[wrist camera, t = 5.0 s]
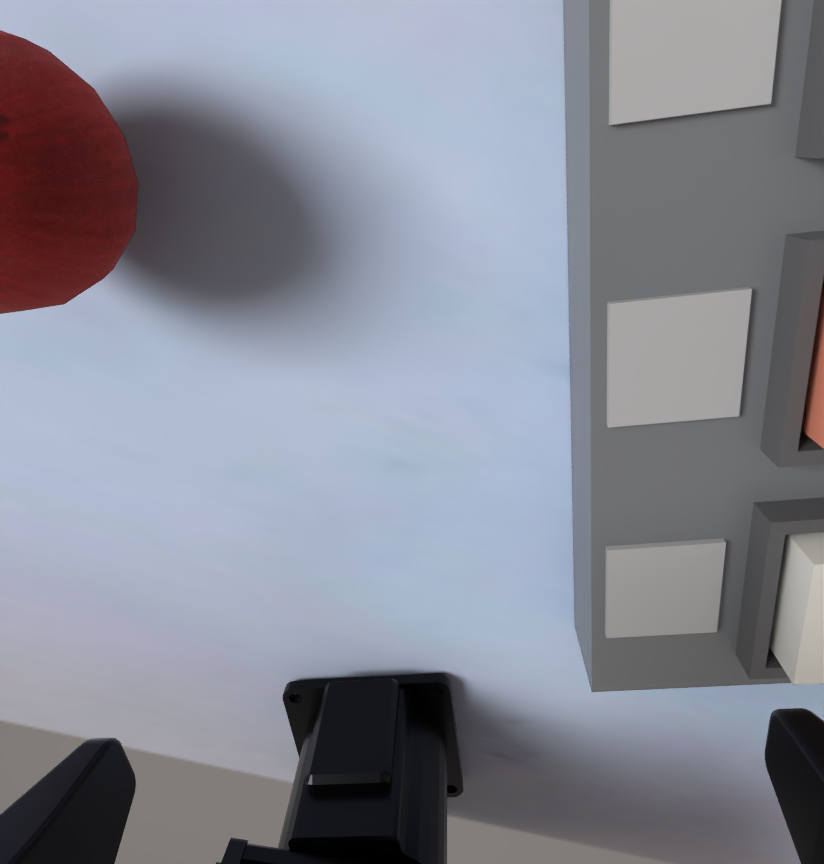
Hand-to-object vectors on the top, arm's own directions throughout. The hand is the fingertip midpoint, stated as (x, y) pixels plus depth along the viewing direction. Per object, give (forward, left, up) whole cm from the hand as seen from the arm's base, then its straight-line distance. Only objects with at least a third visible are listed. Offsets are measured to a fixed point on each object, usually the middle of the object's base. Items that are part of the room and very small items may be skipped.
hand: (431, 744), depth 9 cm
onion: (+8, +9, -12) cm, 17 cm away
